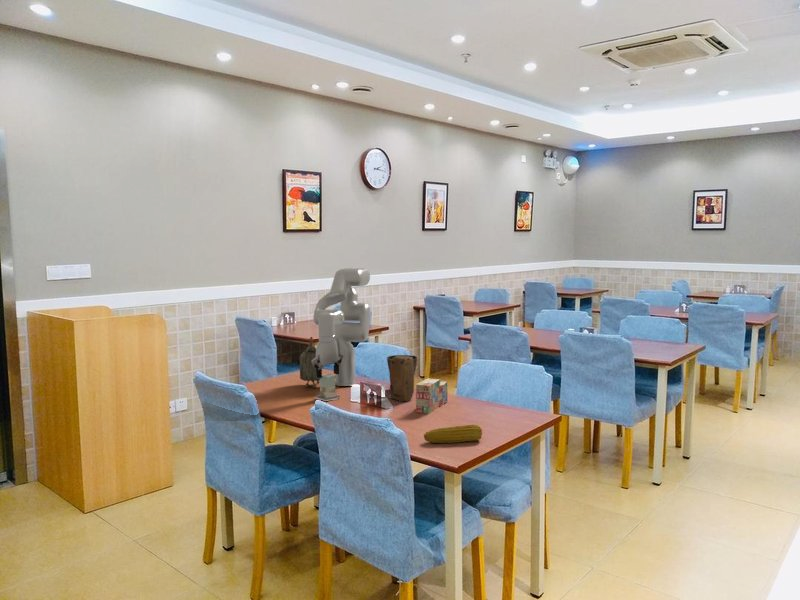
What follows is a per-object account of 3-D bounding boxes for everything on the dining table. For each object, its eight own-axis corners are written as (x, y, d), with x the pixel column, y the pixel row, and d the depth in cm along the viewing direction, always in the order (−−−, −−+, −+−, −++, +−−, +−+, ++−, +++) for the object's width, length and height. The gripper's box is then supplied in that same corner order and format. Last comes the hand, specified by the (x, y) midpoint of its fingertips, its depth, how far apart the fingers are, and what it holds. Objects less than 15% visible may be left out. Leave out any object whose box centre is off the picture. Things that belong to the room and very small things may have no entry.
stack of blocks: (434, 400, 266) (434, 374, 265) (447, 402, 263) (447, 375, 262) (415, 412, 246) (415, 383, 245) (429, 414, 244) (429, 385, 243)
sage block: (319, 386, 268) (319, 375, 268) (328, 384, 272) (328, 373, 271) (326, 387, 265) (326, 377, 264) (335, 386, 268) (335, 375, 268)
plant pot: (382, 392, 281) (382, 359, 280) (392, 385, 295) (392, 354, 294) (412, 394, 277) (412, 361, 275) (421, 387, 291) (421, 355, 289)
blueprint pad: (315, 398, 269) (315, 395, 269) (329, 395, 274) (329, 392, 274) (325, 402, 263) (325, 398, 263) (339, 398, 268) (339, 395, 268)
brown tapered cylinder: (415, 399, 267) (415, 356, 266) (405, 402, 261) (405, 358, 260) (397, 395, 274) (397, 353, 272) (387, 399, 268) (386, 356, 266)
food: (478, 438, 213) (478, 422, 213) (483, 443, 208) (483, 426, 207) (422, 441, 209) (422, 425, 209) (426, 446, 204) (426, 430, 203)
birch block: (320, 396, 269) (320, 386, 268) (328, 394, 272) (328, 384, 272) (326, 398, 265) (326, 387, 265) (335, 396, 268) (335, 386, 268)
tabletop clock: (318, 389, 286) (317, 339, 284) (299, 389, 286) (298, 339, 284) (322, 383, 301) (321, 335, 299) (304, 383, 301) (303, 335, 299)
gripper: (337, 335, 275) (337, 371, 277) (306, 340, 263) (307, 377, 265) (347, 337, 270) (347, 373, 272) (316, 342, 258) (317, 380, 260)
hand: (327, 375), depth 268 cm, fingers open, 9 cm apart
